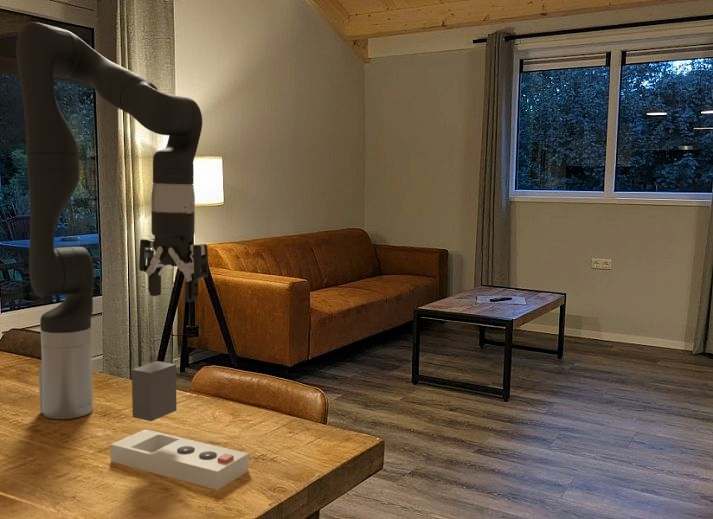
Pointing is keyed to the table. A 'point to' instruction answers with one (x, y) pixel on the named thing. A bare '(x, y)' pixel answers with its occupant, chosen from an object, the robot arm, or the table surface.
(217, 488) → the power strip
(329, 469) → the table surface
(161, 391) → the charcoal plug
